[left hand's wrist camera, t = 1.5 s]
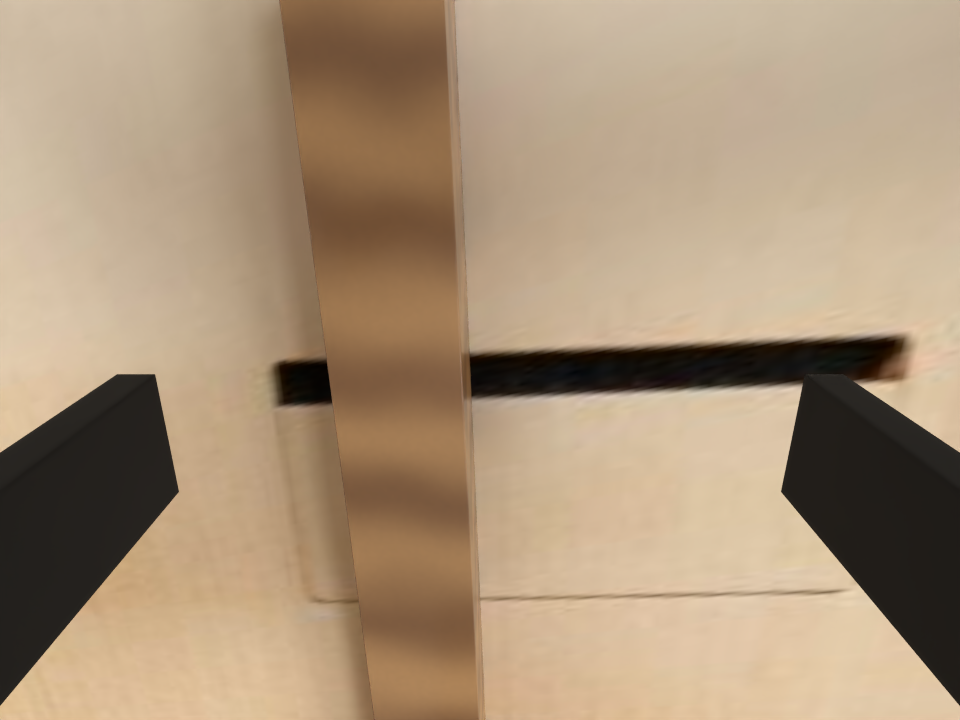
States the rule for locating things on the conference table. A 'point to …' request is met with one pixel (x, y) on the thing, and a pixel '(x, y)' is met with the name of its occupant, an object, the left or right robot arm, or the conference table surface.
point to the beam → (395, 333)
